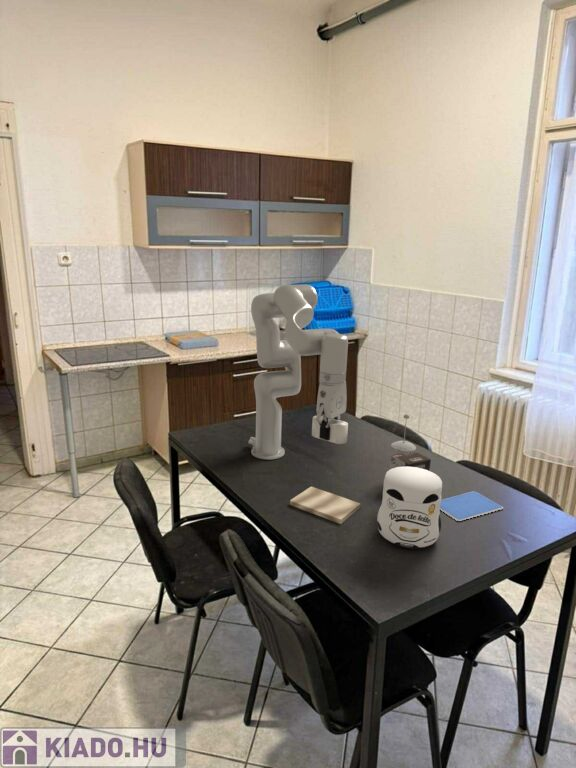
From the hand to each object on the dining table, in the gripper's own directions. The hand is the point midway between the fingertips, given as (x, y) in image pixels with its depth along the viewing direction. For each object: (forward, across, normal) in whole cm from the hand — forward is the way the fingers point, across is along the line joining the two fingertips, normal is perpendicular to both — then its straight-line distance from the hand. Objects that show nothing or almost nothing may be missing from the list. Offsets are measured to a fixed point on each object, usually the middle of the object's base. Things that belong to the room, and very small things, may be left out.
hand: (329, 435), depth 159 cm
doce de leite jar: (+23, 0, -27) cm, 36 cm away
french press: (+24, +30, -12) cm, 40 cm away
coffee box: (+23, +17, -20) cm, 35 cm away
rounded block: (+1, 0, 0) cm, 1 cm away
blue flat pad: (+24, +28, -35) cm, 51 cm away
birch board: (+23, 0, 0) cm, 23 cm away
